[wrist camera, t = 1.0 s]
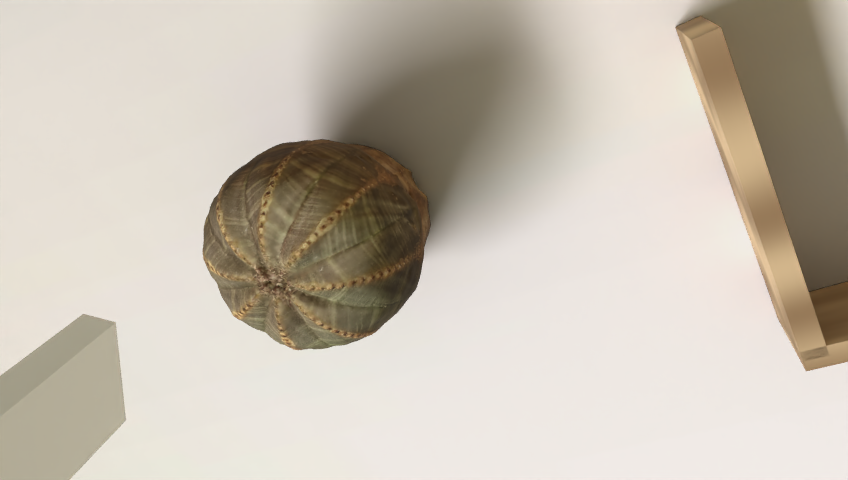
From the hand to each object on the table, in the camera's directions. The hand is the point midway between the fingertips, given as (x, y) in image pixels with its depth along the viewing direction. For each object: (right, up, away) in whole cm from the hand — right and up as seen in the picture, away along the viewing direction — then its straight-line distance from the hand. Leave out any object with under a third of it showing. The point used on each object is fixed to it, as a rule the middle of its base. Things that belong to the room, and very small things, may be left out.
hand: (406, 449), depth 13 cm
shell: (-4, +7, +26) cm, 27 cm away
